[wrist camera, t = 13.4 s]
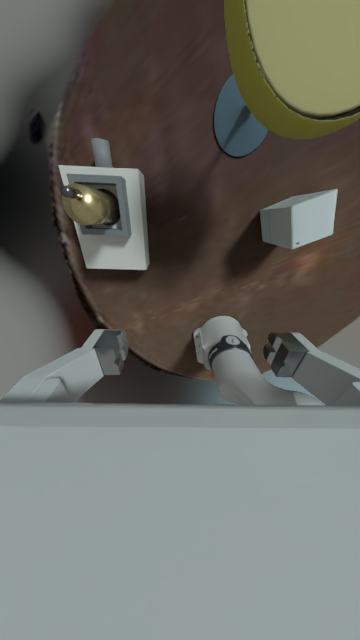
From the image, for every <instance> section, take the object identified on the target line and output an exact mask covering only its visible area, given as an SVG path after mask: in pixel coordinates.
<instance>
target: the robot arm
mask: <svg viewBox="0 0 360 640" xmlns="http://www.w3.org/2000/svg"><path fill="white" fill-rule="evenodd" d="M193 336H194V342H195V349H196V356H197V361H198V362H199V363H202V364H204V367H205V368H206V369H208V370H212V371H213V372H211V379H215V382H216V387H217V390H218V392H219V394H220V395H221V396H222V397H223V398H224V399H225V400H227V401H229V402H231V403H235V404H242V405H230V404H229V405H228V404H225V405H224V404H129V403H126V404H125V403H74V402H75V401H76V400H77V399H78V398H80V397H81V396H82V395H83V394H84V393H85V392H86V391H87V390H88V389H90V388H91V387H92V386H93V385H94V384H95V383H96V382H97V381H98V380H99V379H101V378H102V377H103V376H104V375H120V373H121V370H122V368H123V365H124V364H123V361H124V360H125V359H126V357H127V354H128V343H127V342H126V341H125V338H126V333H125V331H124V330H111V329H96V330H94V332H93V333H92V334H91V335H90V337H89V338H88V339H87V341H86V342H85V343H84V345H83V346H82V347H81V348H77V349H76V350H74V351H72V352H70V353H68V354H66V355H64V356H62V357H60V358H58V359H57V360H55V361H53V362H51V363H49V364H47V365H45V366H43V367H41V368H40V369H38V370H36V371H34V372H32V373H30V374H28V375H26V376H24V377H23V378H22V379H21V380H20V381H19V382H18V383H17V384H16V385H15V386H14V387H13V388H12V389H11V390H10V391H9V392H8V393H7V394H6V395H5V396H4V397H3V398H2V399H1V400H0V640H360V369H358V368H356V367H354V366H352V365H350V364H347V363H345V362H343V361H341V360H339V359H337V358H335V357H333V356H331V355H328V354H326V353H324V352H320V351H319V350H318V349H317V348H316V347H315V346H314V345H312V344H311V343H310V342H309V341H308V340H307V339H306V338H305V337H304V336H303V335H302V334H300V333H270V334H269V335H268V338H267V339H268V341H269V342H268V343H266V344H265V346H264V348H263V354H264V358H265V359H266V361H267V362H269V363H270V364H271V366H270V367H271V369H272V371H273V372H274V373H275V375H276V377H292V378H293V379H294V380H295V381H296V382H298V383H299V384H300V385H301V386H303V387H304V388H305V389H307V390H308V391H309V392H310V393H312V394H313V395H314V396H315V397H317V398H318V399H319V400H320V401H322V402H323V403H324V404H325V405H324V404H323V403H322V402H320V401H319V400H317V399H315V398H314V397H312V396H309V395H307V394H304V393H301V392H297V391H289V390H284V389H281V388H278V387H276V386H274V385H272V384H271V383H269V382H268V381H267V380H266V379H265V378H264V377H263V376H262V374H261V373H260V371H259V370H258V368H257V366H256V365H255V363H254V361H253V357H252V354H251V351H250V345H249V343H248V340H247V338H246V337H247V332H246V331H245V330H244V329H242V328H241V326H240V324H239V322H238V321H237V320H235V319H234V318H232V317H229V316H218V317H214V318H212V319H210V320H208V321H207V322H206V323H205V324H204V325H203V326H202V327H200V328H198V329H196V330H195V331H194V332H193Z"/></svg>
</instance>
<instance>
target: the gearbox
mask: <svg viewBox="0 0 360 640" xmlns="http://www.w3.org/2000/svg"><path fill="white" fill-rule="evenodd" d="M91 143H92V149H93V154H94V160H95V165H96V167H84V166H63V165H59V169H60V173H61V176H62V180H63V184H64V186H67V185H69V184H72V183H77V184H81V185H84V186H87V187H90V188H93V189H96V190H99V191H102V192H105V193H107V194H109V195H111V196H112V197H113V198H114V200H115V201H116V203H117V206H118V217H117V219H116V220H115V221H114V222H112V223H105V224H95V225H81V224H78V223H76V222H75V221H74V224H75V228H76V231H77V235H78V239H79V242H80V246H81V250H82V253H83V257H84V261H85V264H86V268H91V269H129V270H147V268H148V266H149V264H150V261H149V246H148V231H147V216H146V201H145V186H144V176H143V174H142V173H141V172H140V171H139V169H126V168H113V167H112V160H111V153H110V146H109V142H108V141H106V140H104V139H100V138H92V139H91Z"/></svg>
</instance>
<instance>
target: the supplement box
mask: <svg viewBox="0 0 360 640" xmlns="http://www.w3.org/2000/svg"><path fill="white" fill-rule="evenodd" d="M337 191H338V189H334V190H329V191H323V192H317V193H312V194H306V195H300V196H294V197H290V198H288V199H286V200H283V201H281V202H279V203H276V204H274V205H272V206H269V207H267V208H265V209H262V210H260V220H261V230H262V240H263V242H267V243H270V244H274V245H277V246H281V247H284V248H288V249H295V248H297V247H300V246H303V245H305V244H308V243H311V242H313V241H316V240H319V239H321V238H324V237H327V236H330V235H332V234H333V225H334V216H335V208H336V199H337Z"/></svg>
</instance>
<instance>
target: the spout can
mask: <svg viewBox="0 0 360 640" xmlns="http://www.w3.org/2000/svg"><path fill="white" fill-rule="evenodd" d="M60 191H61V193H62V203H63V207H64V209H65V211H66V213H67V214H68V216H69V217H70V218H71V219H72V220H73V221H75V222H76V223H78V224H81V225H95V224H105V223H112V222H114V221H115V220H116V219H117V217H118V206H117V203H116V201H115V200H114V198H113V197H112V196H111V195H109V194H107V193H105V192H102V191H99V190H96V189H93V188H90V187H87V186H84V185H81V184H77V183H72V184H69V185H67V186H64V185H63V186H61V188H60Z"/></svg>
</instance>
